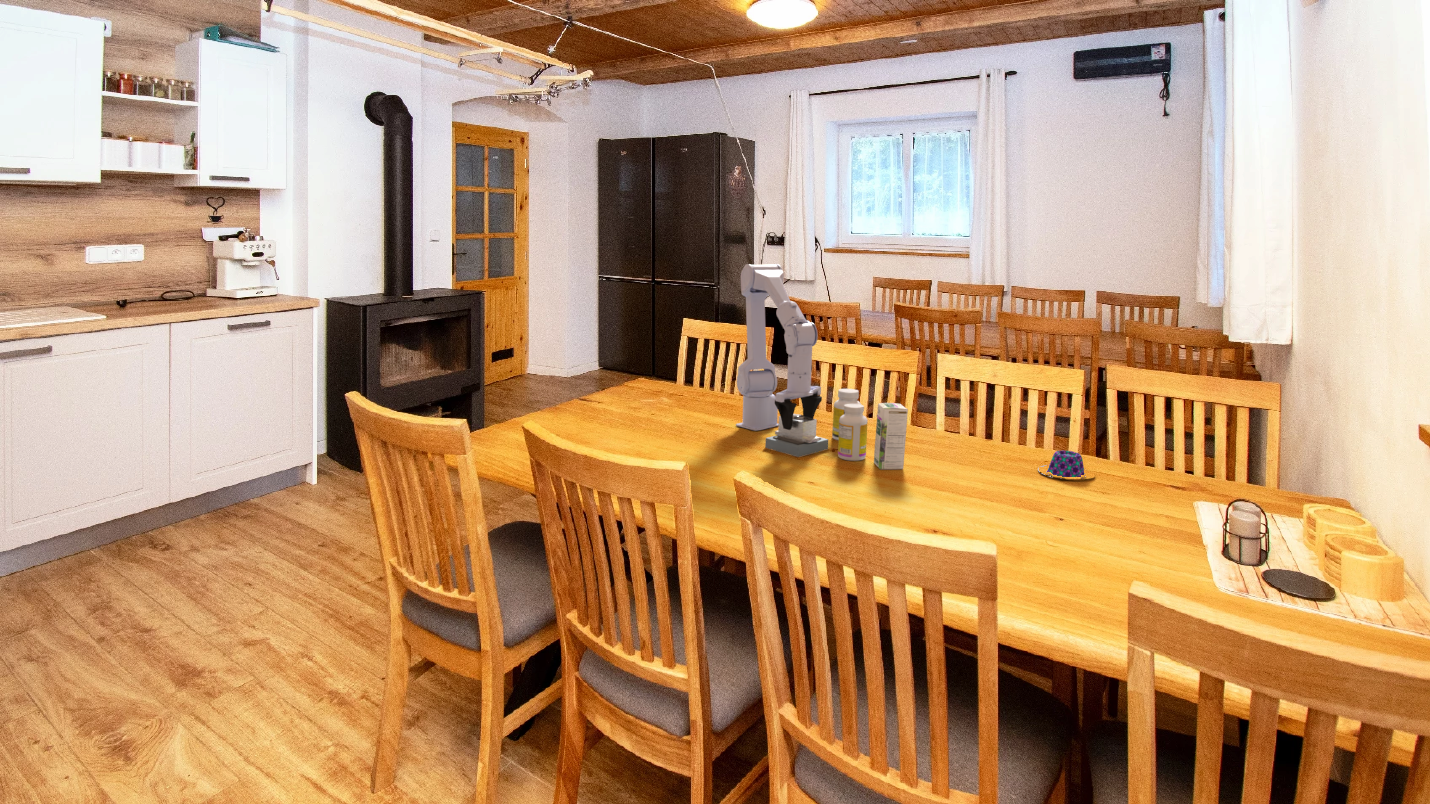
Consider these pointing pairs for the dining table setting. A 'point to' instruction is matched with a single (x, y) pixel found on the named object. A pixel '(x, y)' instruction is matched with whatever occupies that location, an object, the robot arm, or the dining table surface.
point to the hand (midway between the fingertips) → (797, 426)
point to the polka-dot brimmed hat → (1066, 464)
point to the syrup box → (890, 436)
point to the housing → (799, 429)
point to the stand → (795, 446)
